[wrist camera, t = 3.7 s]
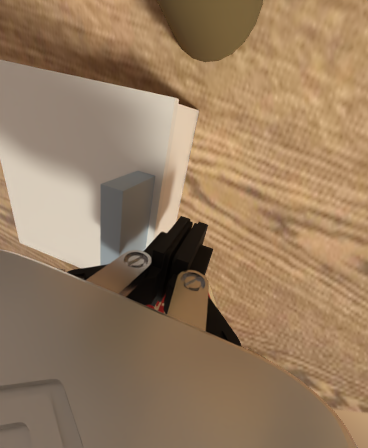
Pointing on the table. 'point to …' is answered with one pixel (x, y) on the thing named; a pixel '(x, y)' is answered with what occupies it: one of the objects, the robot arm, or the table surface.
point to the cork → (210, 25)
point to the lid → (83, 162)
